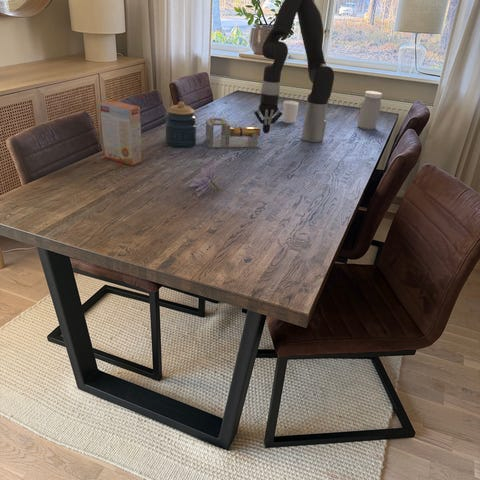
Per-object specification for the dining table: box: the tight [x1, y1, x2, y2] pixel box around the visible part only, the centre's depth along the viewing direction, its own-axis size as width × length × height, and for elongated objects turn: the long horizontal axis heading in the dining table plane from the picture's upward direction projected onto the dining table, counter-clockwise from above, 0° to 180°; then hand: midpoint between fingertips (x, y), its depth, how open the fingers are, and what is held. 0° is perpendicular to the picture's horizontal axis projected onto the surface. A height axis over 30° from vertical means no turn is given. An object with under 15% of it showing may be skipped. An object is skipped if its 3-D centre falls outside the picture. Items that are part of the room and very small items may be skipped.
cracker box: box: [99, 100, 143, 166], centre depth 161 cm, size 14×6×21 cm, turn 59°
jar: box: [356, 90, 383, 131], centre depth 228 cm, size 10×10×18 cm
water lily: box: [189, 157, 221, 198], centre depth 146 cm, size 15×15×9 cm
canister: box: [164, 101, 197, 149], centre depth 184 cm, size 13×13×18 cm
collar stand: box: [204, 117, 260, 149], centre depth 190 cm, size 22×11×10 cm, turn 103°
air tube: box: [229, 126, 261, 138], centre depth 191 cm, size 13×4×4 cm, turn 103°
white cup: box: [282, 100, 300, 124], centre depth 229 cm, size 8×8×10 cm
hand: (265, 132), depth 194 cm, fingers closed
